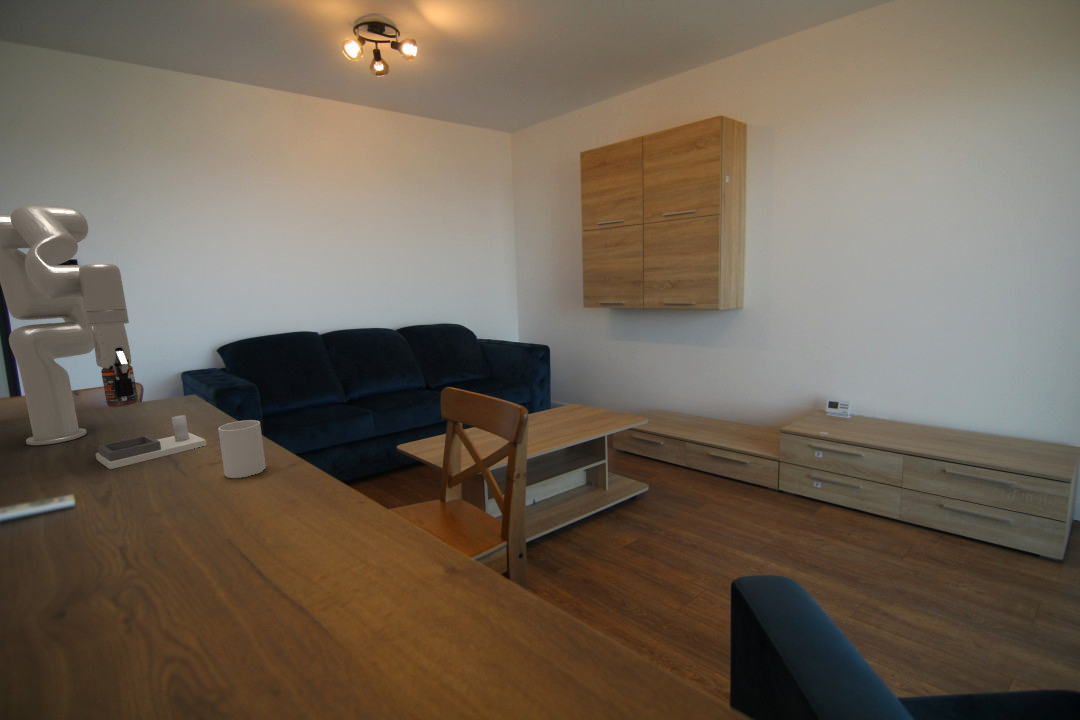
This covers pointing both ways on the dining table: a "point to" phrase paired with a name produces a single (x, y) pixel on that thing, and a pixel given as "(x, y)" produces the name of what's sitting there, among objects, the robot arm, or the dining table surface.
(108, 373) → the supplement bottle
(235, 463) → the mug
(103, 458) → the framed tray with peg
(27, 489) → the dining table surface
